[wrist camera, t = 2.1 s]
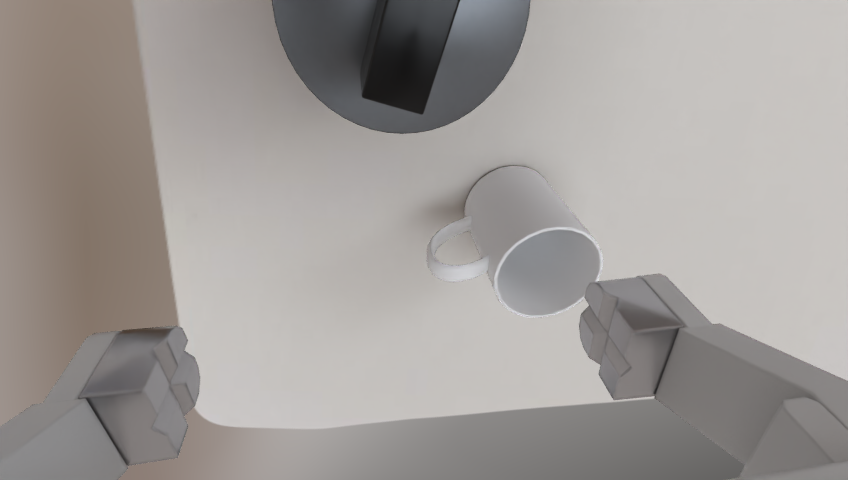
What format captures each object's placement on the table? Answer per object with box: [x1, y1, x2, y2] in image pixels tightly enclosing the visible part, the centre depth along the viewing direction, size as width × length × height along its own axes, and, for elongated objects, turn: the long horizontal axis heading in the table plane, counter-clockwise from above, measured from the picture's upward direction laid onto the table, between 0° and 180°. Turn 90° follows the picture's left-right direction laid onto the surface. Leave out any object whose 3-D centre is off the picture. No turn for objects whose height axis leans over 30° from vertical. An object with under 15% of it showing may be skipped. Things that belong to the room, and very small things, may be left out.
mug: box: [427, 166, 603, 318], centre depth 37 cm, size 12×8×10 cm, turn 89°
